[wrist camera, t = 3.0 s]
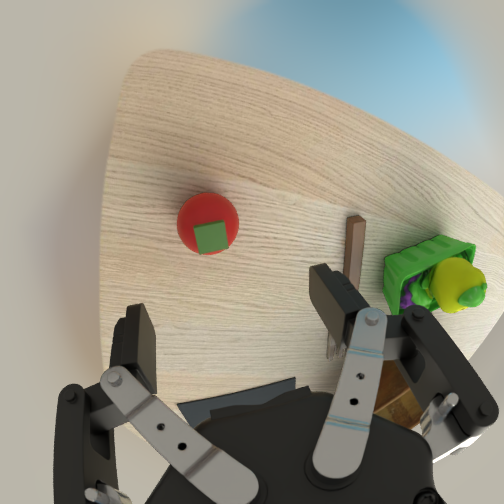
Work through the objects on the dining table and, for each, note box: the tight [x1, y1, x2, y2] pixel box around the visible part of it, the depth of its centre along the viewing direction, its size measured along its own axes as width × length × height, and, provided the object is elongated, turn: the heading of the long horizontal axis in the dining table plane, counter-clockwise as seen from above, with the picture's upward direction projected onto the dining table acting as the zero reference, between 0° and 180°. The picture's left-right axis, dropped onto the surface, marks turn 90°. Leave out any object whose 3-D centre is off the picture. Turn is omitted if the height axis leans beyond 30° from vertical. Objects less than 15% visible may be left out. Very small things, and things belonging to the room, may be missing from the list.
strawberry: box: [177, 193, 239, 255], centre depth 21 cm, size 4×4×4 cm
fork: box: [327, 216, 366, 361], centre depth 31 cm, size 20×4×1 cm, turn 6°
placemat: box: [177, 377, 296, 429], centre depth 40 cm, size 16×14×1 cm
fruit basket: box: [383, 235, 487, 315], centre depth 27 cm, size 11×9×11 cm
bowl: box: [373, 360, 423, 429], centre depth 39 cm, size 22×23×10 cm
